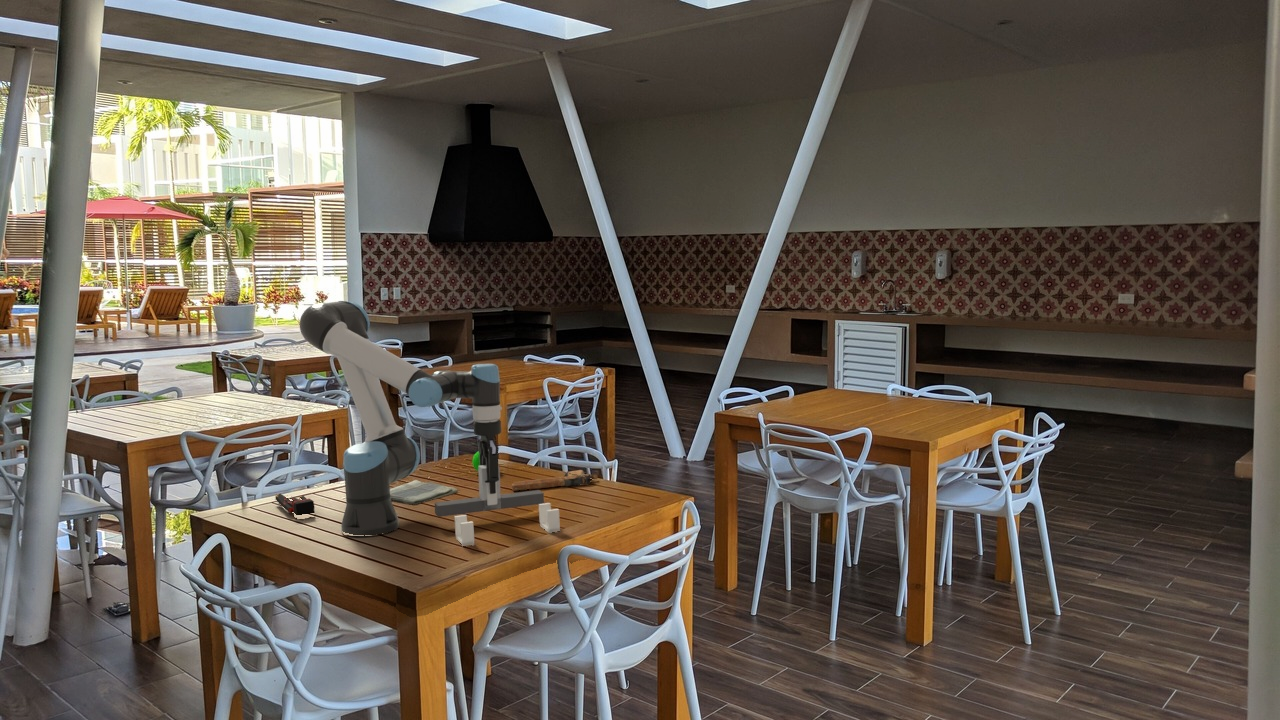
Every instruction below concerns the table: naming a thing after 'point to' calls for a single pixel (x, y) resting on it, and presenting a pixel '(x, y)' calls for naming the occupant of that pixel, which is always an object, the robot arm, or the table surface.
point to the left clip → (464, 530)
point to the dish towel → (419, 492)
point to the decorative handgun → (555, 481)
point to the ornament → (476, 461)
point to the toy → (296, 504)
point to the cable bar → (481, 502)
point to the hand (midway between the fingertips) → (490, 502)
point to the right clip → (549, 518)
